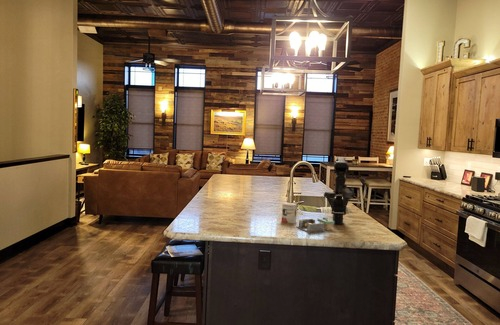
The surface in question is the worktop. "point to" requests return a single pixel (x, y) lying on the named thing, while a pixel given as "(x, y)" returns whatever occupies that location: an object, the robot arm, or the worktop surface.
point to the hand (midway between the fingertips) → (338, 208)
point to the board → (325, 220)
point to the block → (328, 226)
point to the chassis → (311, 226)
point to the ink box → (289, 212)
